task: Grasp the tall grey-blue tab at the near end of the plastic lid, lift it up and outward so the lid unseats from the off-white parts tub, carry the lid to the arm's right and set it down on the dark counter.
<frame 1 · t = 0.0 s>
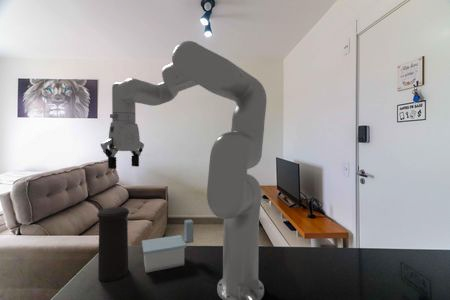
hand: (124, 167, 83), 31 cm above the counter, tool pointing down, fingers open, 9 cm apart
tub: (163, 263, 78), on the counter
container: (113, 274, 72), on the counter
lid: (163, 245, 78), point 6 cm above the counter, touching tub
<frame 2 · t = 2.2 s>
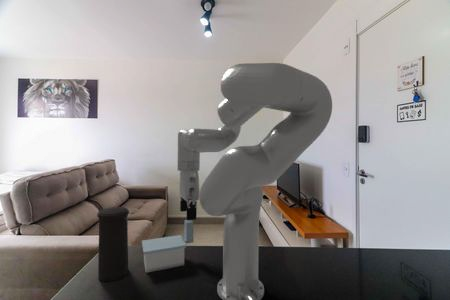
hand: (187, 215, 82), 15 cm above the counter, tool pointing down, fingers open, 9 cm apart
nothing on the counter moved.
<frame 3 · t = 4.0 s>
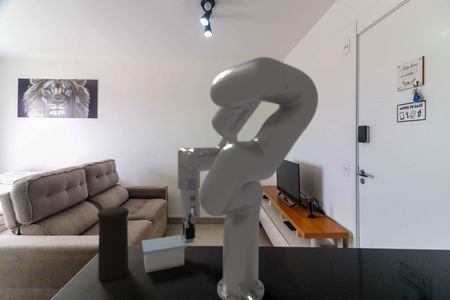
hand: (188, 236, 81), 8 cm above the counter, tool pointing down, fingers closed on lid, 3 cm apart
lid: (163, 245, 78), point 6 cm above the counter, touching gripper, tub
everything else where it was.
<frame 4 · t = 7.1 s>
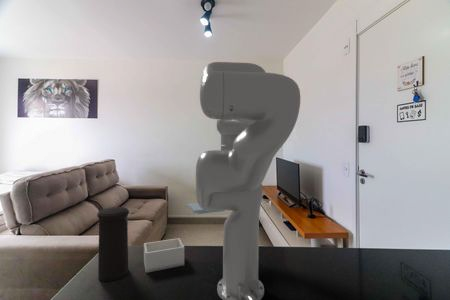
hand: (231, 200, 86), 19 cm above the counter, tool pointing down, fingers closed on lid, 3 cm apart
lid: (208, 207, 83), point 17 cm above the counter, touching gripper
everything else where it was.
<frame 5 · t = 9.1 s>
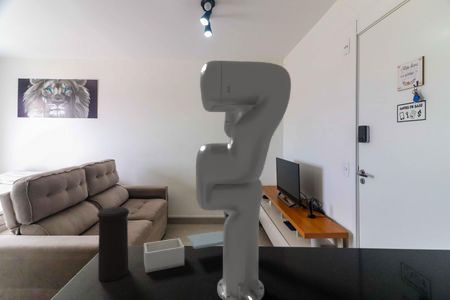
hand: (230, 232, 87), 7 cm above the counter, tool pointing down, fingers closed on lid, 3 cm apart
lid: (209, 240, 84), point 5 cm above the counter, touching gripper
everything else where it was.
when the fingers open (4 cm above the counter, at t = 10.4 s): lid drops 2 cm, point 1 cm above the counter.
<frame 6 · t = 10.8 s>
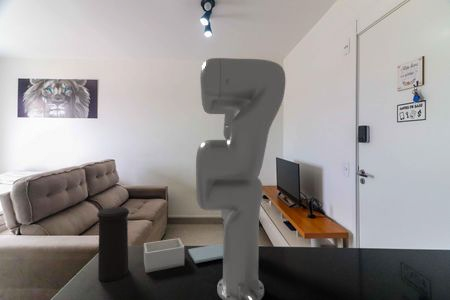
hand: (230, 239, 86), 5 cm above the counter, tool pointing down, fingers open, 6 cm apart
lid: (209, 253, 83), point 1 cm above the counter
everything else where it was.
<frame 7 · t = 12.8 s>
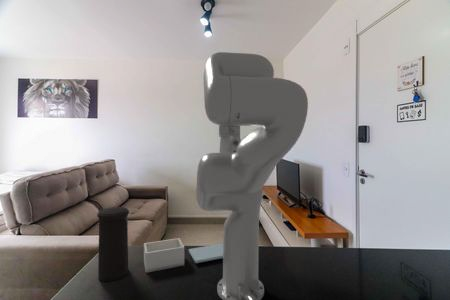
hand: (229, 180, 83), 27 cm above the counter, tool pointing down, fingers open, 9 cm apart
nothing on the counter moved.
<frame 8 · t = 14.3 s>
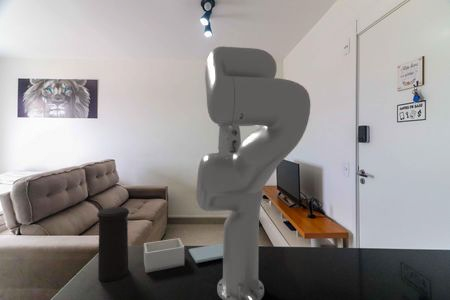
hand: (228, 170, 83), 30 cm above the counter, tool pointing down, fingers open, 9 cm apart
nothing on the counter moved.
at the end: lid point 0.9 cm above the counter; lid touching counter; lid tilted 0° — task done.
